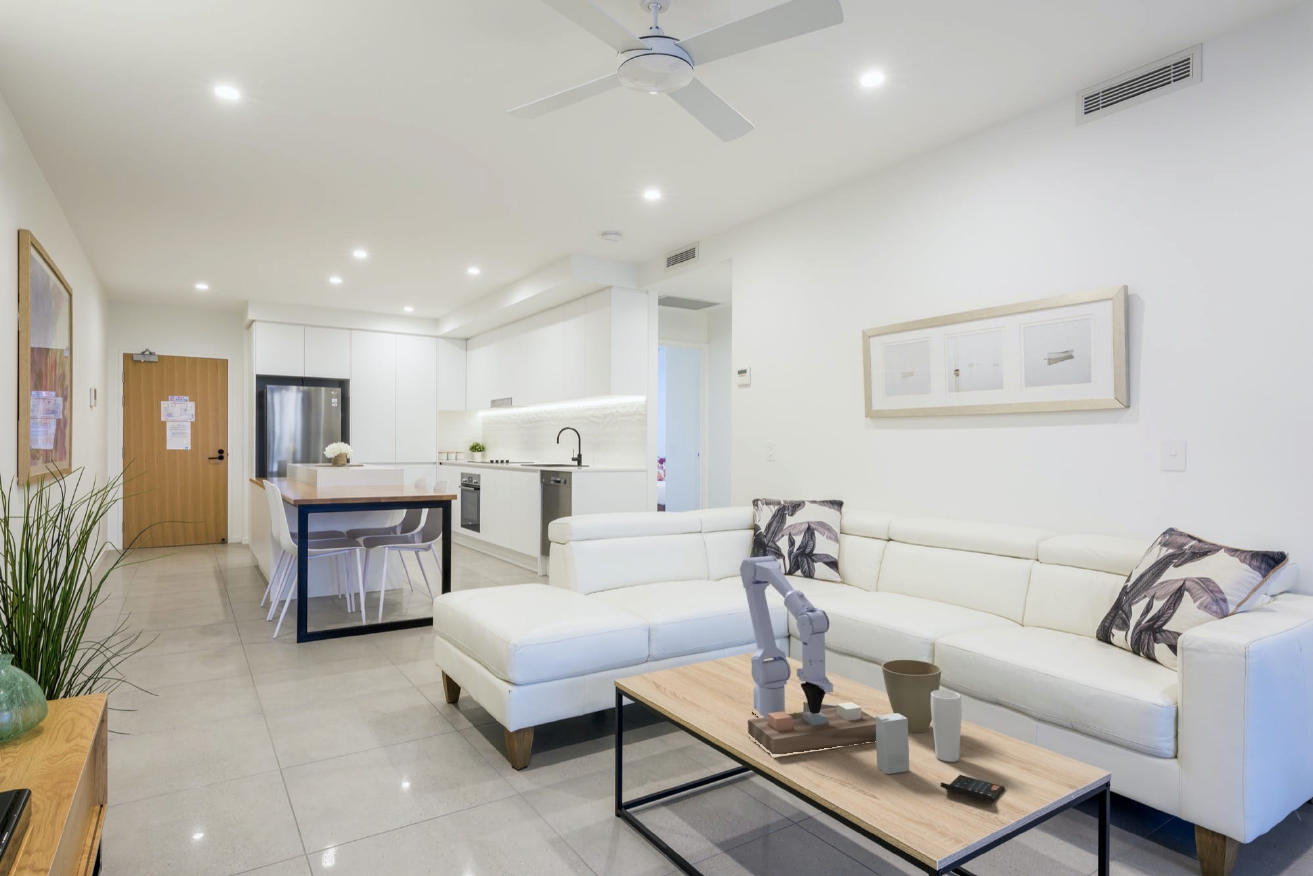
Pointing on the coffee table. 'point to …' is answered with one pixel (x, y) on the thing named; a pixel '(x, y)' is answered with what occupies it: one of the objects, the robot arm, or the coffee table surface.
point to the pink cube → (779, 721)
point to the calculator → (975, 788)
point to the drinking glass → (946, 724)
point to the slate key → (814, 718)
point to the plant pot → (912, 690)
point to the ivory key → (848, 711)
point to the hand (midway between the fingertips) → (814, 712)
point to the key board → (813, 733)
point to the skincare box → (892, 743)
